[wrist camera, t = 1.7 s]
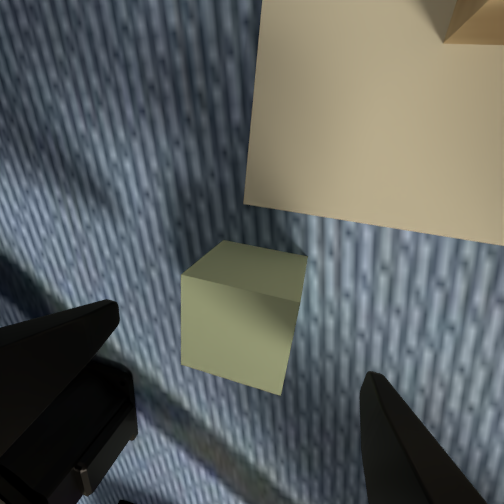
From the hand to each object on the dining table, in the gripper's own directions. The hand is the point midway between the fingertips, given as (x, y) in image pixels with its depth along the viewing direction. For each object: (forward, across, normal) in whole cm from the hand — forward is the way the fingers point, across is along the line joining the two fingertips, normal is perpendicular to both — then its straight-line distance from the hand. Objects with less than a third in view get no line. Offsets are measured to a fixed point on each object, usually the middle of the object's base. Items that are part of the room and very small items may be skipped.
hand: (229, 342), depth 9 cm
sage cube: (+4, 0, 0) cm, 4 cm away
